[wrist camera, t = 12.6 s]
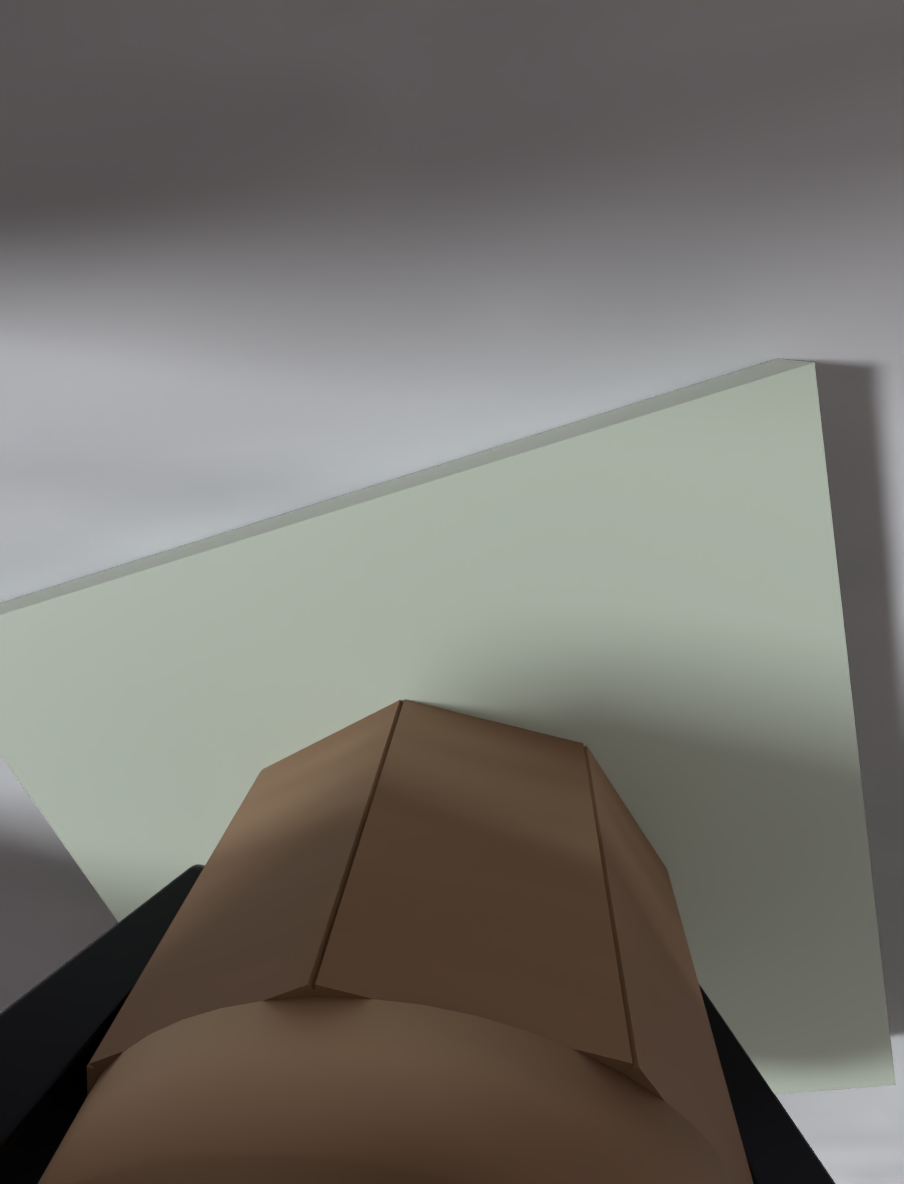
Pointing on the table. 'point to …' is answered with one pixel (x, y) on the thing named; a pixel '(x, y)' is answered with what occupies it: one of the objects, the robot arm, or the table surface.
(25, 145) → the table surface
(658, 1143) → the cap
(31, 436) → the table surface
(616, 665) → the pale green flat slab
